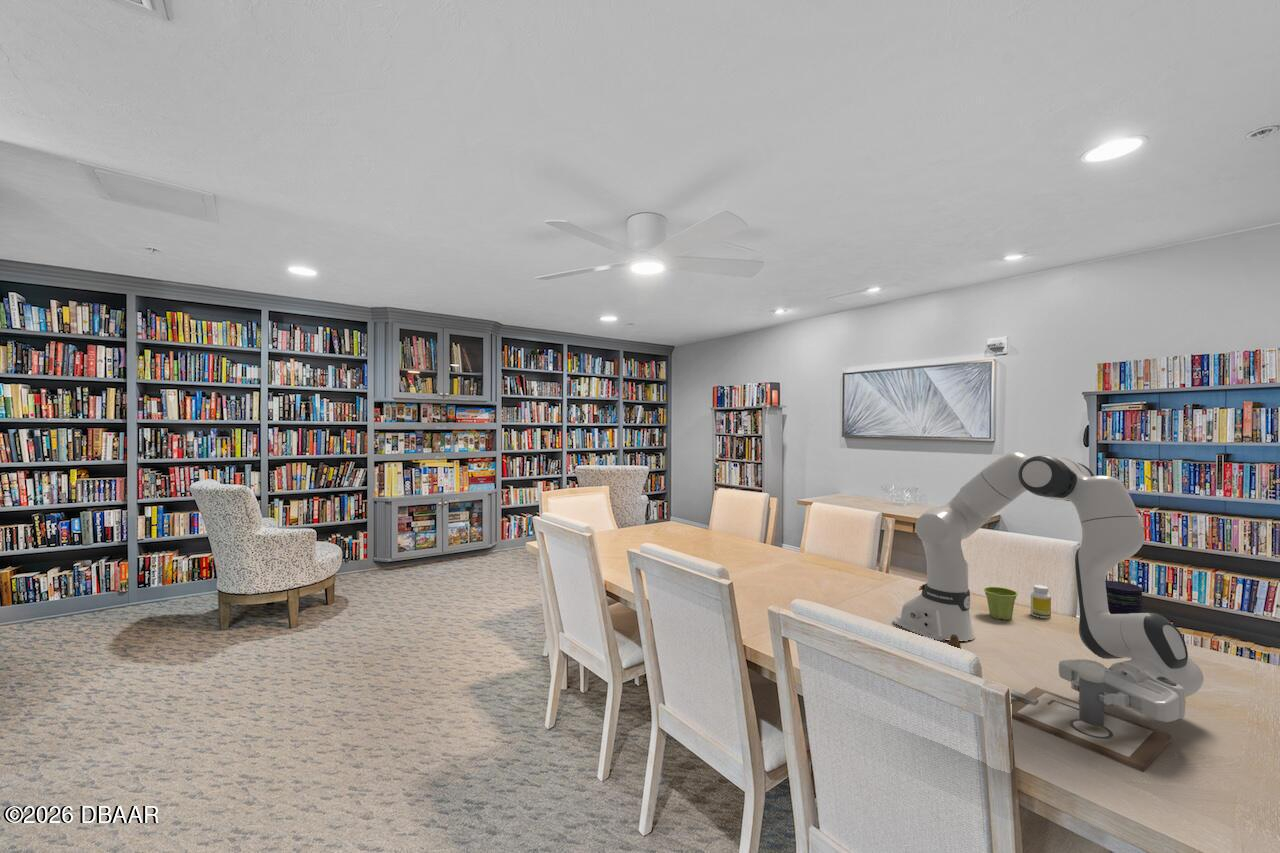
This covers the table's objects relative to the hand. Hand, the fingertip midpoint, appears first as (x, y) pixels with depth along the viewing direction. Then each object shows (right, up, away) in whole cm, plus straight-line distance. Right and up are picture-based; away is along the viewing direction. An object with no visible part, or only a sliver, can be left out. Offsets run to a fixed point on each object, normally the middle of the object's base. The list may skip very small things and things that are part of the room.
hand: (1088, 692), depth 112 cm
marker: (+1, -6, 0) cm, 6 cm away
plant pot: (+26, -8, +66) cm, 71 cm away
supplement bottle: (+40, -8, +67) cm, 78 cm away
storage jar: (+53, -8, +51) cm, 74 cm away
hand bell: (-20, -9, +13) cm, 26 cm away
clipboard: (+1, -9, +3) cm, 9 cm away
